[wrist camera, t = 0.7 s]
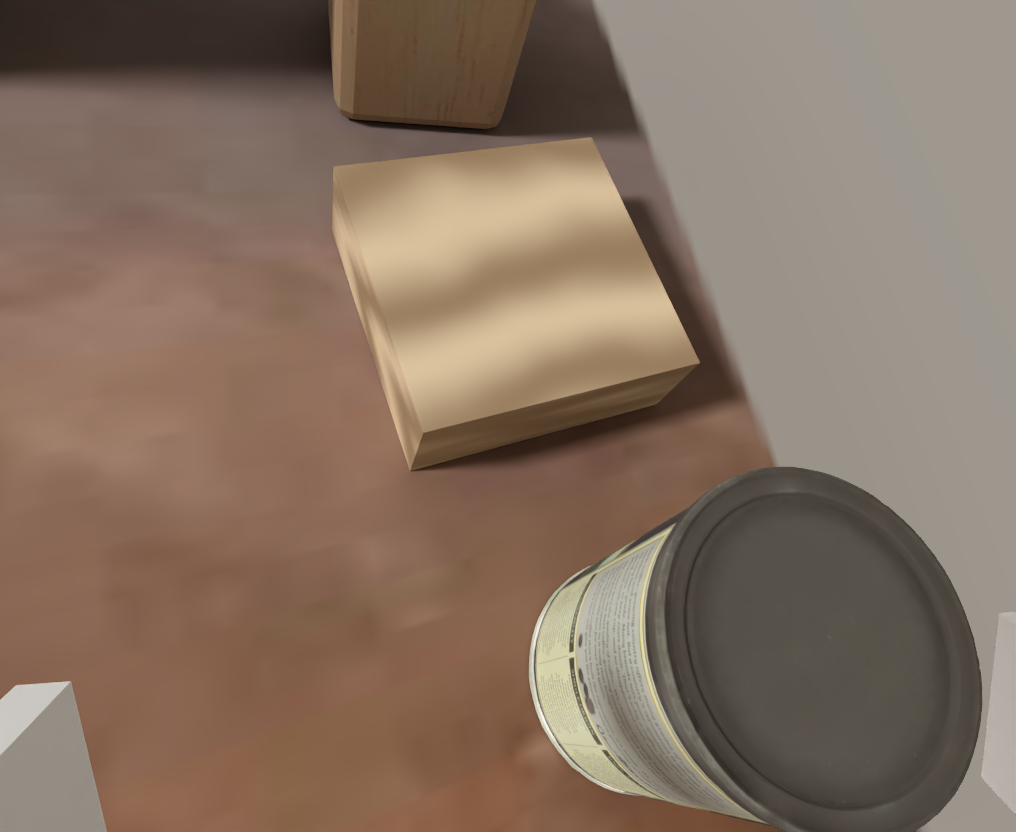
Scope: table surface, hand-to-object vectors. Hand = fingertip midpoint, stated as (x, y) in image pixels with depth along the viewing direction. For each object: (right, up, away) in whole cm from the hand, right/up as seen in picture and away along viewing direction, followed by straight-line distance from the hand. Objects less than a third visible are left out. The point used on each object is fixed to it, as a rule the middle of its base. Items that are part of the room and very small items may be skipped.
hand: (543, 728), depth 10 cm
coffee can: (+5, -7, +23) cm, 24 cm away
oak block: (-1, +10, +28) cm, 30 cm away
